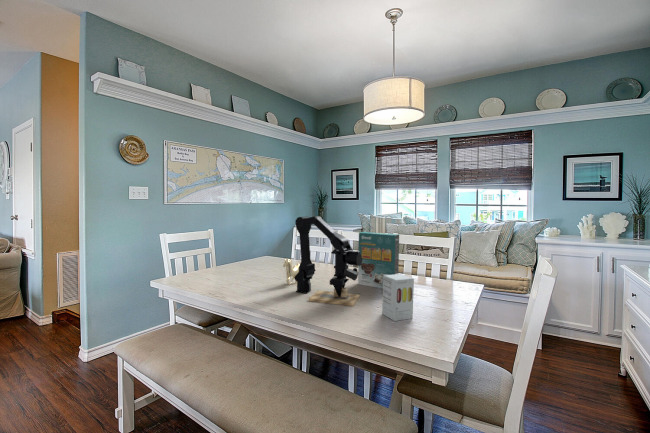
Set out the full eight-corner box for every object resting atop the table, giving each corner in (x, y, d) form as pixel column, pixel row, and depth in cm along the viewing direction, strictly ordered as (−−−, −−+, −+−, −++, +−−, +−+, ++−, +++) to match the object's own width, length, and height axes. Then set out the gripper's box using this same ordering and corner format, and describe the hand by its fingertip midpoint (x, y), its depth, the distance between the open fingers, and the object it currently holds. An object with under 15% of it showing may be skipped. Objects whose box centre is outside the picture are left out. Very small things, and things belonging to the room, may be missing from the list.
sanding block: (333, 297, 149) (333, 289, 149) (336, 294, 153) (336, 287, 153) (345, 298, 147) (345, 290, 147) (347, 296, 151) (347, 288, 151)
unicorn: (298, 279, 187) (298, 251, 186) (303, 280, 185) (304, 252, 185) (280, 288, 169) (280, 257, 168) (286, 289, 167) (286, 257, 166)
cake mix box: (398, 287, 172) (399, 234, 171) (394, 290, 167) (395, 235, 166) (362, 281, 184) (363, 231, 183) (358, 284, 179) (358, 232, 178)
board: (308, 301, 148) (308, 298, 148) (317, 292, 161) (317, 290, 161) (353, 306, 141) (353, 303, 141) (359, 297, 155) (359, 294, 155)
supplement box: (394, 321, 123) (395, 280, 123) (381, 313, 132) (382, 275, 131) (413, 318, 127) (414, 278, 126) (399, 310, 136) (400, 273, 135)
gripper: (353, 268, 138) (352, 302, 139) (360, 261, 156) (360, 291, 157) (329, 266, 141) (329, 300, 142) (339, 259, 159) (339, 289, 160)
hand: (340, 295), depth 150 cm, fingers closed on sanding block, 4 cm apart
